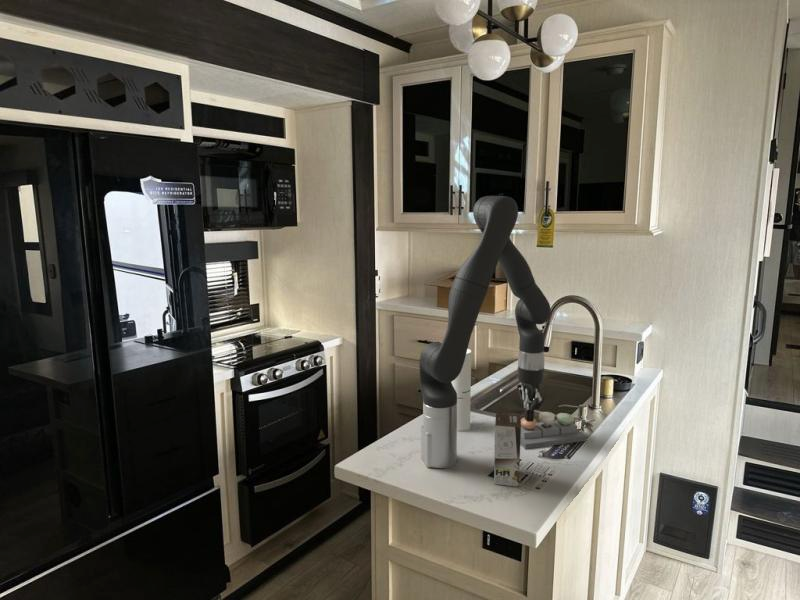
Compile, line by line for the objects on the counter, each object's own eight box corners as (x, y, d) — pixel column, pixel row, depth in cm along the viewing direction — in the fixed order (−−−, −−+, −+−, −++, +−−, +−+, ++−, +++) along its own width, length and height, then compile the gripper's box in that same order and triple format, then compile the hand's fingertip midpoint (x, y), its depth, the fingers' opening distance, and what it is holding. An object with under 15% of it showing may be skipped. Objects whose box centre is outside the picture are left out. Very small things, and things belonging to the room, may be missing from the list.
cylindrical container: (474, 428, 172) (475, 352, 167) (453, 432, 170) (454, 355, 165) (463, 420, 179) (464, 346, 174) (443, 423, 176) (444, 349, 171)
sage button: (561, 430, 165) (562, 419, 164) (553, 424, 169) (554, 413, 168) (574, 428, 166) (575, 417, 165) (566, 422, 170) (567, 412, 169)
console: (525, 449, 158) (525, 438, 158) (507, 431, 170) (507, 421, 169) (586, 440, 163) (587, 430, 163) (565, 424, 175) (565, 414, 174)
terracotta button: (525, 435, 162) (525, 424, 161) (518, 429, 166) (518, 418, 165) (538, 433, 163) (539, 422, 162) (531, 427, 167) (532, 416, 167)
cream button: (543, 429, 163) (544, 418, 163) (536, 423, 167) (536, 412, 167) (556, 427, 164) (557, 416, 164) (549, 421, 168) (549, 411, 168)
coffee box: (519, 487, 138) (521, 427, 135) (493, 484, 139) (494, 425, 136) (518, 469, 147) (520, 412, 144) (494, 467, 148) (495, 411, 145)
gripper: (509, 359, 166) (508, 413, 169) (530, 373, 153) (528, 431, 157) (531, 357, 168) (530, 410, 171) (554, 370, 155) (551, 427, 159)
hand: (529, 420), depth 164 cm, fingers closed
